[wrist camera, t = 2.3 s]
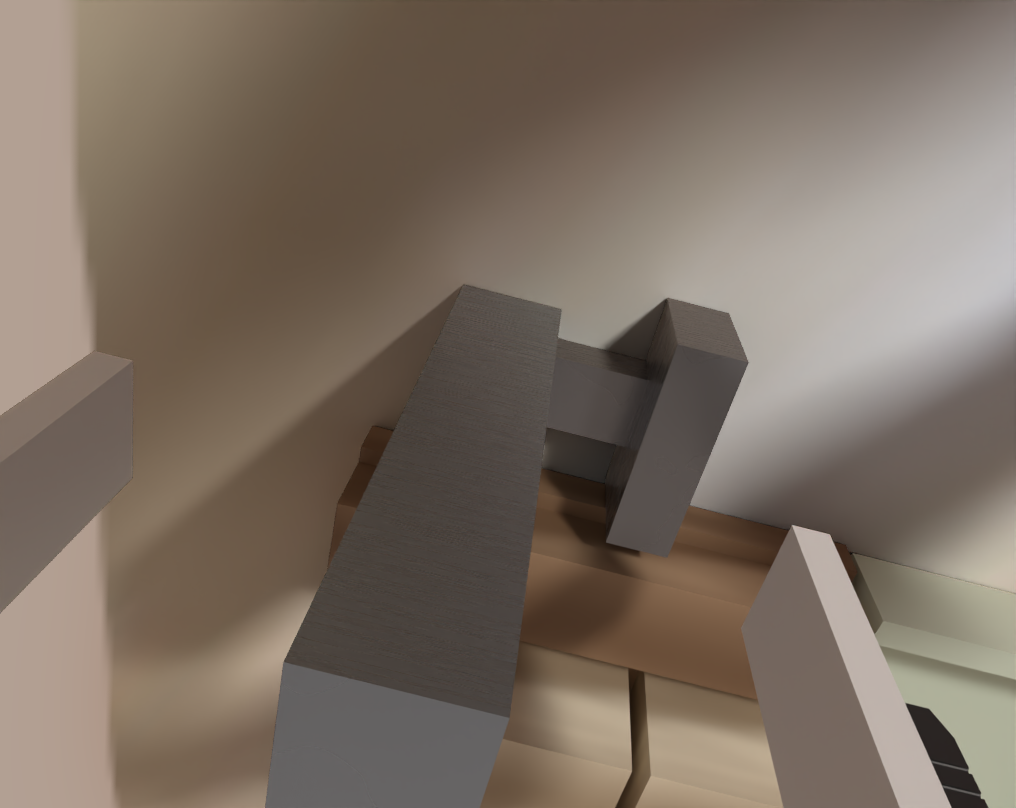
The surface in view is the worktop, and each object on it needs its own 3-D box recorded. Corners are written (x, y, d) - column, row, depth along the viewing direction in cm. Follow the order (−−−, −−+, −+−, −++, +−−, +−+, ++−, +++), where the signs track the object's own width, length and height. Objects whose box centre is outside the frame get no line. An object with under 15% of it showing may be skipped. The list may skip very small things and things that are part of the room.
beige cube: (499, 624, 24) (481, 733, 20) (627, 656, 24) (632, 771, 20) (472, 713, 26) (452, 827, 22) (591, 742, 26) (590, 861, 22)
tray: (852, 552, 23) (883, 621, 20) (1237, 650, 23) (1314, 729, 20) (695, 834, 29) (703, 912, 27) (996, 909, 29) (1033, 993, 27)
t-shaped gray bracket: (471, 247, 20) (292, 595, 8) (728, 313, 20) (902, 747, 8) (431, 434, 22) (254, 894, 11) (659, 491, 23) (720, 1007, 11)
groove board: (372, 425, 22) (340, 487, 20) (845, 545, 23) (880, 623, 20) (318, 745, 29) (288, 825, 26) (685, 835, 29) (694, 925, 26)
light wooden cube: (643, 660, 24) (650, 775, 20) (771, 692, 24) (800, 812, 20) (606, 746, 26) (607, 865, 22) (724, 775, 26) (744, 899, 22)
